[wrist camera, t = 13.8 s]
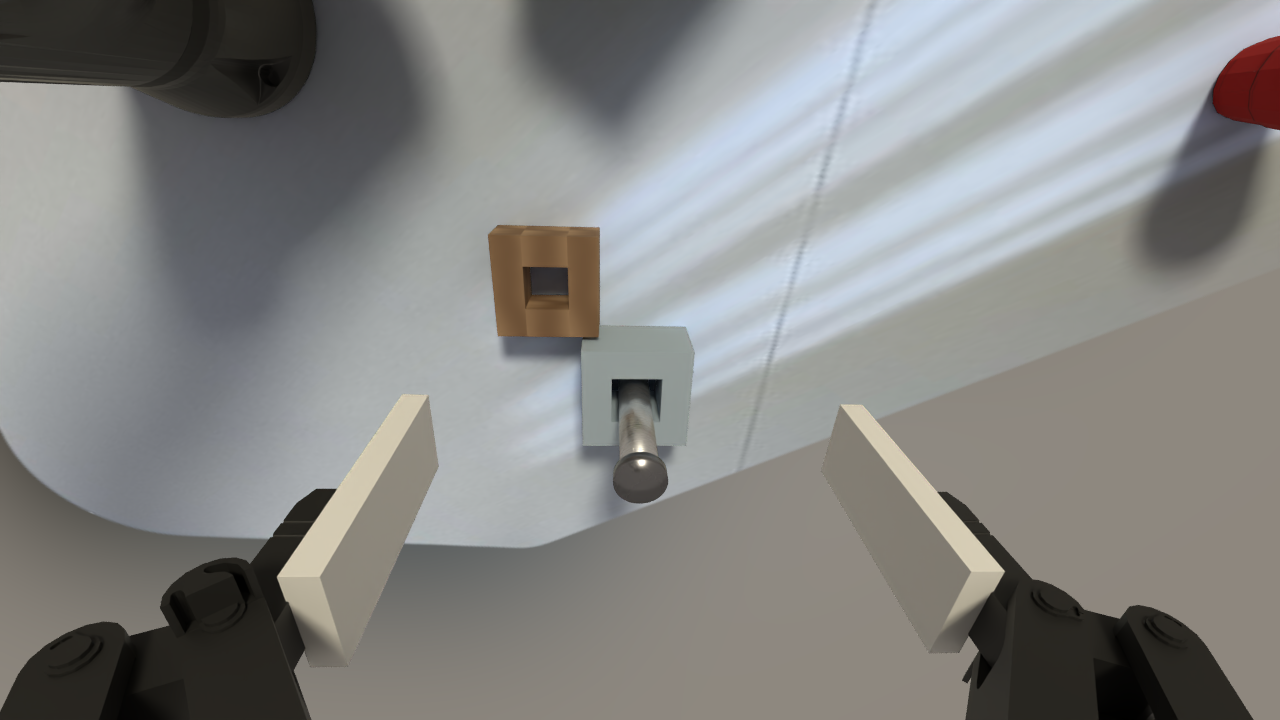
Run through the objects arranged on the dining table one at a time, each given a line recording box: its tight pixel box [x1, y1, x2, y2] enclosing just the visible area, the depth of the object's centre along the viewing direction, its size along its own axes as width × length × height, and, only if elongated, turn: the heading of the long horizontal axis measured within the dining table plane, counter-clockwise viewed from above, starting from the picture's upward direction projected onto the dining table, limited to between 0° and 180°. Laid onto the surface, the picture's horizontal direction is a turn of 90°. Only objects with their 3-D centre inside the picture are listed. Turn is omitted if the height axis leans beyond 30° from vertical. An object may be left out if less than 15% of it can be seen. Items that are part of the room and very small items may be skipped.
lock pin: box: [613, 379, 668, 503], centre depth 44 cm, size 4×4×17 cm
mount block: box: [488, 225, 600, 337], centre depth 45 cm, size 9×9×4 cm
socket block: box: [581, 326, 695, 446], centre depth 49 cm, size 10×10×6 cm
